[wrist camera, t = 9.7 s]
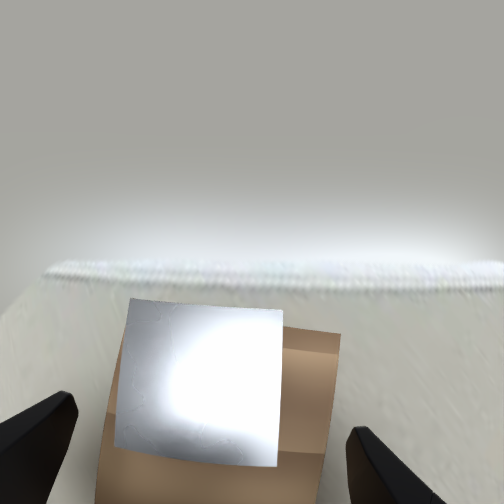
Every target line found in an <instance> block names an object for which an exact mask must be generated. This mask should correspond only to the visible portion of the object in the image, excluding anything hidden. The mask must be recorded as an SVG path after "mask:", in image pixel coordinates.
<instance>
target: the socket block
mask: <svg viewBox="0 0 504 504" xmlns="http://www.w3.org/2000/svg"><path fill="white" fill-rule="evenodd" d="M133 299H134V298H133ZM125 327H126V326H125ZM124 334H125V330H124ZM124 334H123V338H122V342H121V346H120V350H119V355H118V359H117V363H116V368H115V372H114V377H113V382H112V386H111V391H110V396H109V402H108V407H107V412H106V418H105V424H104V430H103V436H102V443H101V449H100V457H99V464H98V473H97V482H96V492H95V503H94V504H315V500H316V496H317V491H318V487H319V482H320V477H321V472H322V467H323V462H324V457H325V451H326V445H327V440H328V434H329V427H330V421H331V414H332V407H333V400H334V392H335V384H336V376H337V367H338V358H339V348H340V337H341V334H337V333H329V332H321V331H313V330H305V329H298V328H291V327H284V326H283V337H282V370H281V395H280V418H279V437H278V455H277V467H266V466H238V465H224V464H212V463H202V462H194V461H186V460H179V459H173V458H167V457H161V456H155V455H150V454H145V453H140V452H135V451H131V450H127V449H122V448H118V447H114V439H115V420H116V406H117V394H118V383H119V374H120V365H121V356H122V349H123V341H124Z"/></svg>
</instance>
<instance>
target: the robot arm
mask: <svg viewBox="0 0 504 504" xmlns="http://www.w3.org/2000/svg"><path fill="white" fill-rule="evenodd" d="M77 418H78V408H77V405H76V403H75V400H74V397H73V395H72V394H71V393H68V392H65V391H59V392H57V393H55V394H53V395H52V396H50V397H48V398H46V399H44V400H43V401H41V402H39V403H37V404H35V405H33V406H32V407H30V408H28V409H26V410H24V411H22V412H21V413H19V414H17V415H15V416H13V417H11V418H10V419H8V420H6V421H4V422H2V423H0V504H46V502H47V500H48V497H49V494H50V492H51V489H52V487H53V484H54V482H55V479H56V477H57V474H58V472H59V469H60V467H61V465H62V462H63V460H64V458H65V455H66V453H67V450H68V447H69V444H70V440H71V437H72V434H73V431H74V427H75V424H76V421H77ZM346 460H347V475H348V488H349V494H350V499H351V504H447V503H445V502H444V501H443V500H442V499H441V498H440V497H439V496H438V495H437V494H435V493H433V491H432V490H431V489H430V488H429V487H428V486H427V485H426V484H425V483H424V482H423V481H422V480H421V479H420V478H419V477H417V476H416V475H415V474H414V473H413V472H412V471H411V470H410V469H409V468H408V467H407V466H406V465H405V464H404V463H403V462H402V461H401V460H400V459H399V458H398V457H397V456H396V455H395V454H394V453H393V452H392V451H391V450H390V449H389V448H388V447H387V446H386V445H385V444H384V443H383V442H382V441H381V440H380V439H379V438H378V437H377V436H376V435H375V434H374V433H373V432H372V431H371V430H370V429H369V428H368V427H366V426H358V427H354V428H353V429H352V431H351V433H350V436H349V438H348V440H347V442H346Z"/></svg>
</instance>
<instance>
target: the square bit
mask: <svg viewBox="0 0 504 504" xmlns="http://www.w3.org/2000/svg"><path fill="white" fill-rule="evenodd" d="M282 337H283V310H270V309H251V308H235V307H220V306H206V305H194V304H182V303H171V302H160V301H150V300H140V299H131V298H130V303H129V308H128V315H127V321H126V327H125V334H124V341H123V349H122V356H121V365H120V374H119V383H118V394H117V406H116V420H115V439H114V447H118V448H122V449H127V450H131V451H135V452H140V453H145V454H150V455H155V456H161V457H167V458H173V459H179V460H186V461H194V462H202V463H212V464H224V465H238V466H266V467H277V455H278V437H279V418H280V395H281V370H282Z"/></svg>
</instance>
